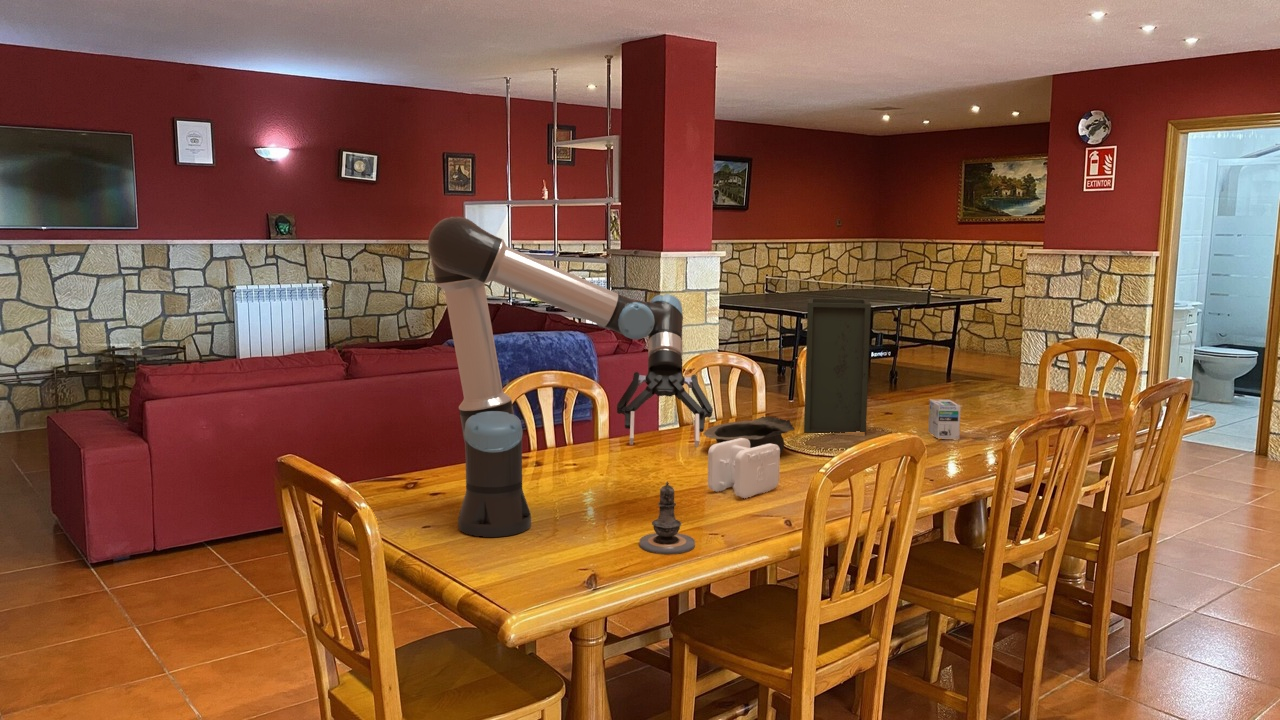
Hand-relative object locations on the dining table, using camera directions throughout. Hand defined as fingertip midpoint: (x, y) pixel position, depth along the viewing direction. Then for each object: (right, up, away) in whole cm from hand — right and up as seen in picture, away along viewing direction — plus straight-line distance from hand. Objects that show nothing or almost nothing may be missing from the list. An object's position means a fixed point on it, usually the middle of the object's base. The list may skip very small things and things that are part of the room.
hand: (664, 442), depth 201 cm
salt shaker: (0, -19, -9) cm, 21 cm away
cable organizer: (+20, -14, +31) cm, 39 cm away
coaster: (0, -20, -9) cm, 21 cm away
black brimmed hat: (+25, -9, +71) cm, 75 cm away
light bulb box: (+86, -6, +92) cm, 127 cm away
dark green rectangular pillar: (+56, -5, +103) cm, 117 cm away
